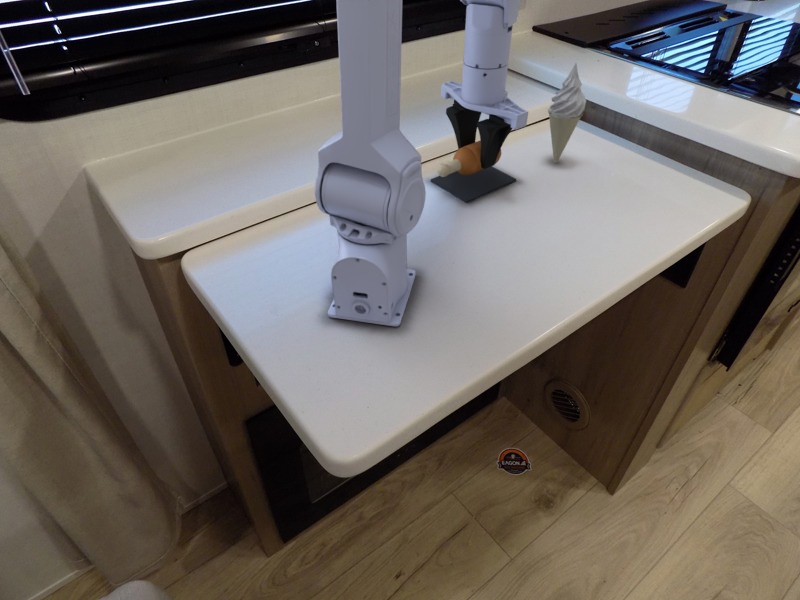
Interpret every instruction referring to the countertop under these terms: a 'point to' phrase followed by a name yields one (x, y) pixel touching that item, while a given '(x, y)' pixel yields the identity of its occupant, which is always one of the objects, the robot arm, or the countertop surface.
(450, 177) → the mat
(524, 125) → the robot arm
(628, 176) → the countertop surface
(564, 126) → the ice cream cone
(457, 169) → the drumstick
